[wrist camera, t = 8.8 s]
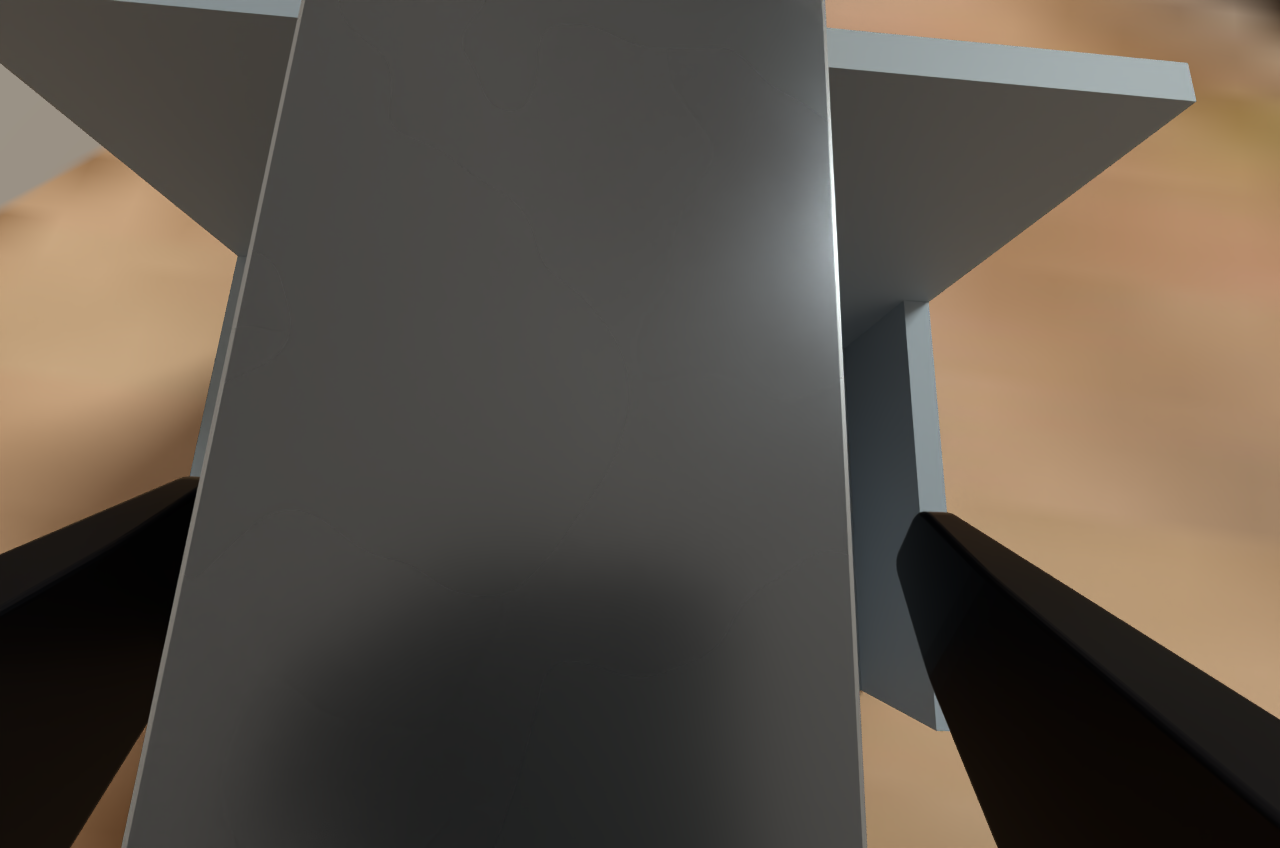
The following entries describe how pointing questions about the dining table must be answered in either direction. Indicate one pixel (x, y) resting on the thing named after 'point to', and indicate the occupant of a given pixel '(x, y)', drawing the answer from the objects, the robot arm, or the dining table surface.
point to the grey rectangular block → (526, 448)
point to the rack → (863, 182)
